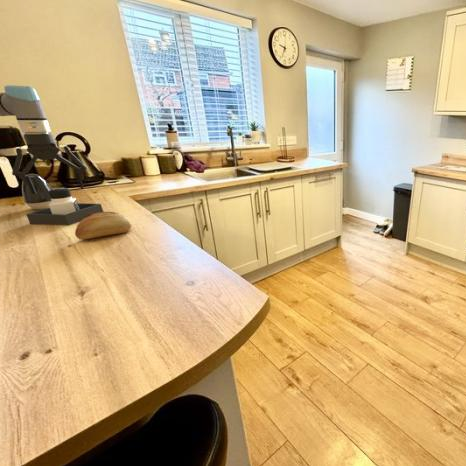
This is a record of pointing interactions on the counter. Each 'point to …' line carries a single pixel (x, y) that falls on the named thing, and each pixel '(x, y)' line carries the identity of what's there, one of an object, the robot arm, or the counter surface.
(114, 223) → the bread roll
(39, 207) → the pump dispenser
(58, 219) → the bin
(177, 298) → the counter surface
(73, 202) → the medicine bottle
